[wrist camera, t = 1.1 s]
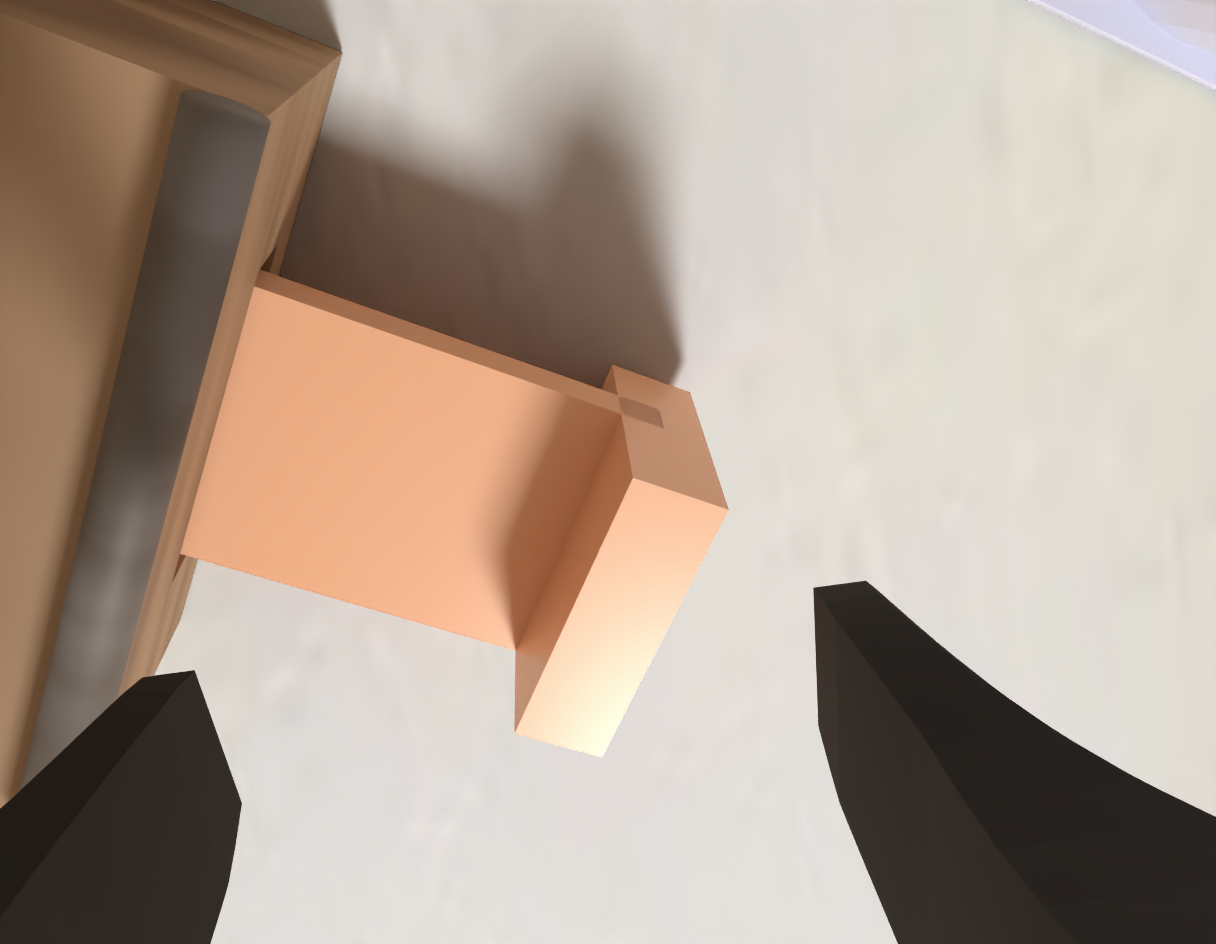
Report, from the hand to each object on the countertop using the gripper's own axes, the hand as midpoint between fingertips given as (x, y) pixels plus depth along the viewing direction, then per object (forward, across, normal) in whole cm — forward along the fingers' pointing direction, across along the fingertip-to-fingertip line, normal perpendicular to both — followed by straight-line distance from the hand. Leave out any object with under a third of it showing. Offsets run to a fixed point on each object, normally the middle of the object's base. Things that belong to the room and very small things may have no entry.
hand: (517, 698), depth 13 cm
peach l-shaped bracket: (+9, +4, -1) cm, 10 cm away
